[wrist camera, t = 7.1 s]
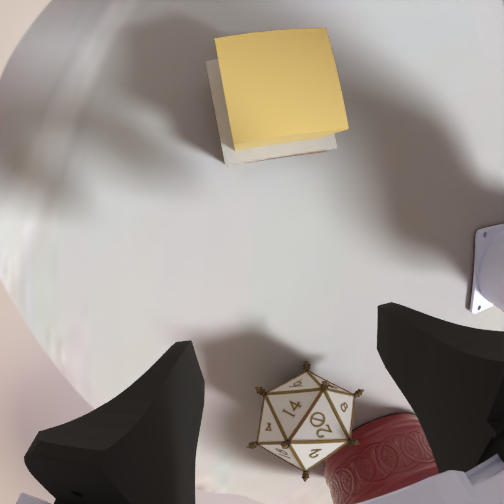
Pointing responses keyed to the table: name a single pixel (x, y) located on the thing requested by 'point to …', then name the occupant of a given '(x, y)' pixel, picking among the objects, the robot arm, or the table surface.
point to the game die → (306, 420)
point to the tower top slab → (258, 152)
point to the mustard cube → (280, 86)
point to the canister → (380, 460)
